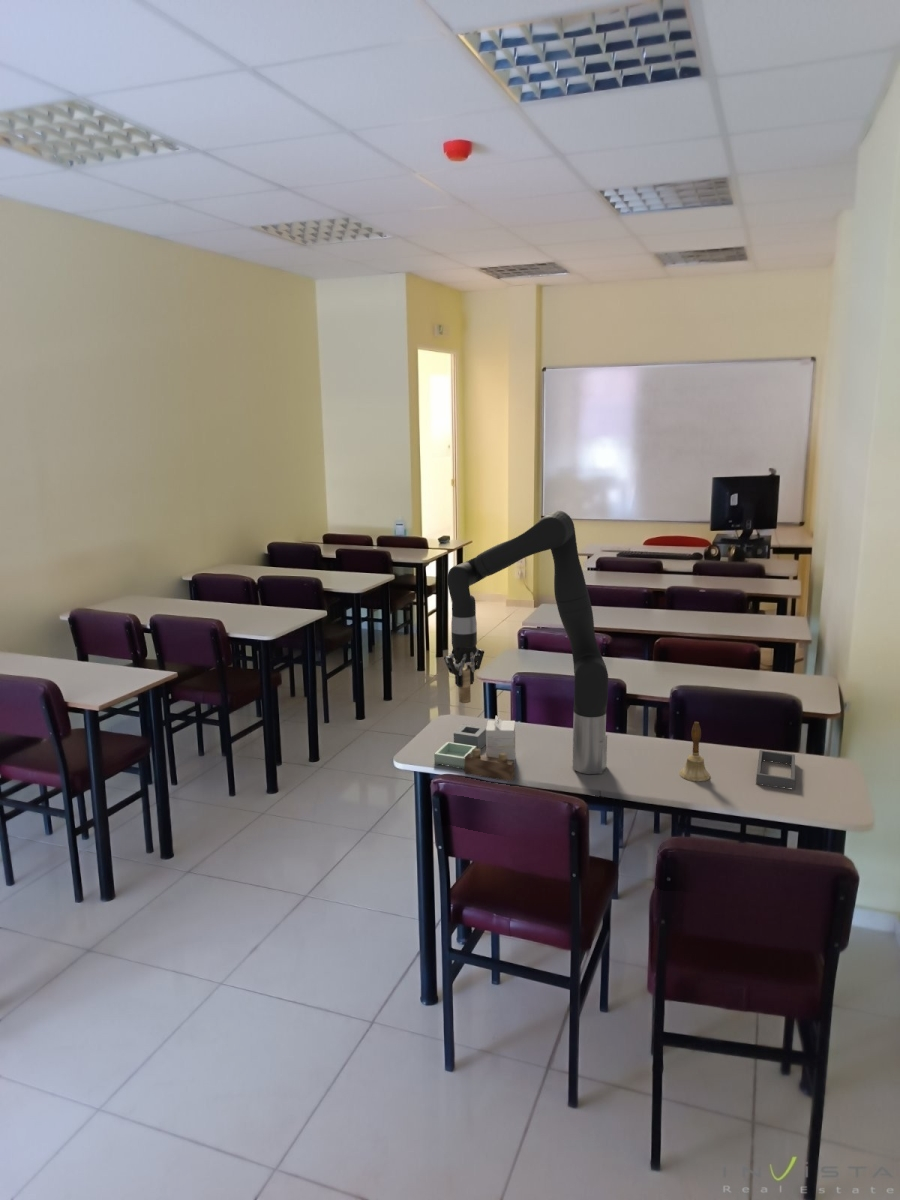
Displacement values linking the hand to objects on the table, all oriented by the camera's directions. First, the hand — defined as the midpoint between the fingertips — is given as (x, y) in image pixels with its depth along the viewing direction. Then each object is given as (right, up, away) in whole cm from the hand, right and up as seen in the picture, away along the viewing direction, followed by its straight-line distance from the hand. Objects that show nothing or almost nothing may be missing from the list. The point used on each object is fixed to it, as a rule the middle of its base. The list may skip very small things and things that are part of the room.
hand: (464, 684), depth 240 cm
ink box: (+11, -23, -4) cm, 25 cm away
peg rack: (+7, -24, -13) cm, 28 cm away
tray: (-3, -22, -2) cm, 23 cm away
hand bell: (+65, -24, -15) cm, 71 cm away
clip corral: (+88, -24, -15) cm, 92 cm away
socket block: (+2, -20, +8) cm, 22 cm away
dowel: (0, -5, +1) cm, 5 cm away
